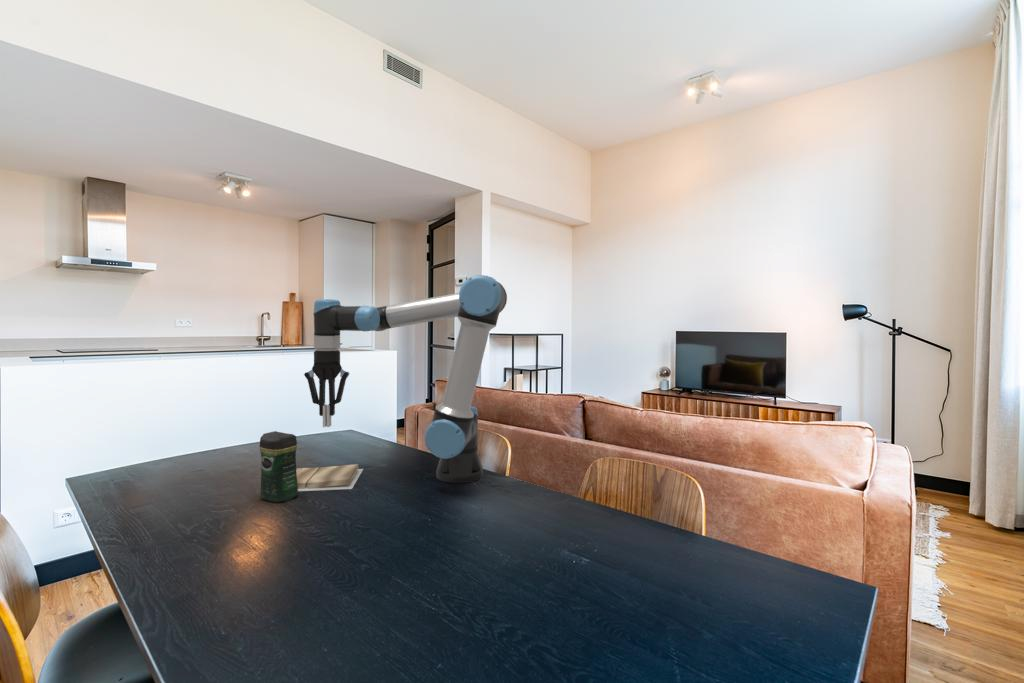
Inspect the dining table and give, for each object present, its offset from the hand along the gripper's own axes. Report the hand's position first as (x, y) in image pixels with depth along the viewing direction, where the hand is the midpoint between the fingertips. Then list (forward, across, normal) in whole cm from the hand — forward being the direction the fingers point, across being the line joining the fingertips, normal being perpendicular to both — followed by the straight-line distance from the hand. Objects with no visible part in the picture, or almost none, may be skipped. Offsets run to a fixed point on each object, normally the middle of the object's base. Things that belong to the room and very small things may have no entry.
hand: (327, 426), depth 143 cm
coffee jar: (+18, +10, +11) cm, 23 cm away
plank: (+17, -1, -3) cm, 18 cm away
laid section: (+18, +11, -3) cm, 21 cm away
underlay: (+18, +4, -3) cm, 19 cm away
